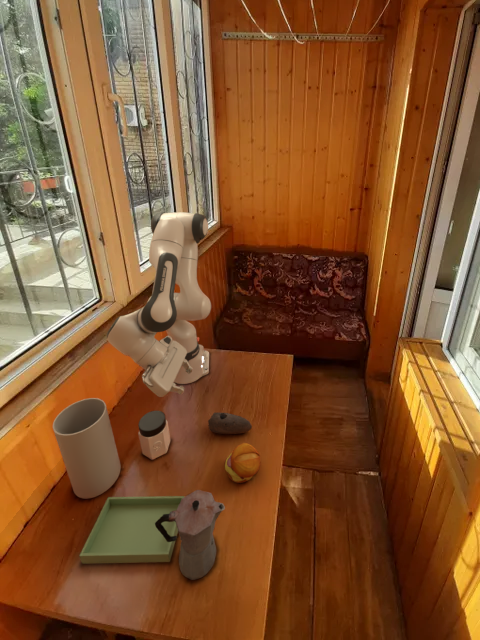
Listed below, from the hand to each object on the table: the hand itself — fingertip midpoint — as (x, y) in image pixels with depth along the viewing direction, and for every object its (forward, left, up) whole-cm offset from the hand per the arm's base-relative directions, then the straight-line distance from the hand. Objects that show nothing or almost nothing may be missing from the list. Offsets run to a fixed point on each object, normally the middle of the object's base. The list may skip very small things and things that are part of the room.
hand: (187, 381), depth 102 cm
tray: (+30, -7, -22) cm, 38 cm away
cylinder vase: (+16, -25, -23) cm, 37 cm away
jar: (+6, -11, -23) cm, 26 cm away
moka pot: (+36, +10, -23) cm, 44 cm away
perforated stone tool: (0, +13, -23) cm, 26 cm away
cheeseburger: (+14, +19, -23) cm, 33 cm away
